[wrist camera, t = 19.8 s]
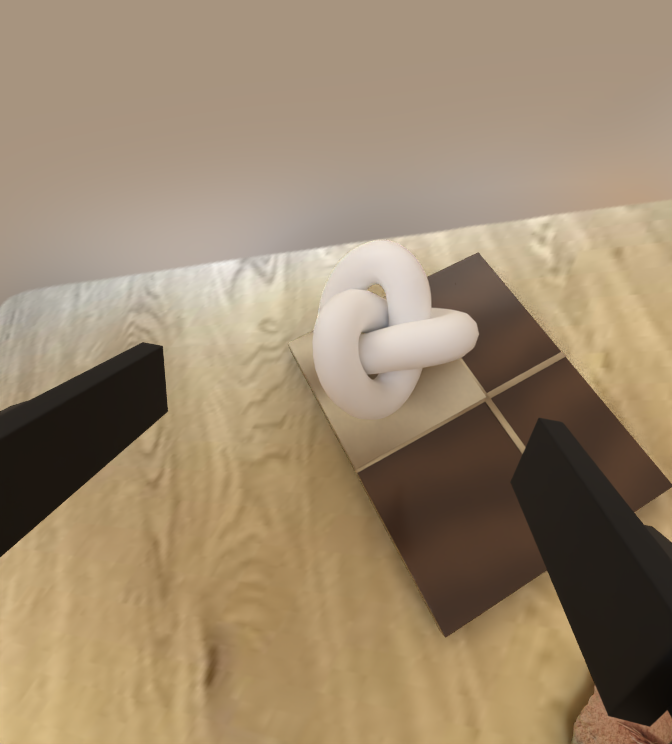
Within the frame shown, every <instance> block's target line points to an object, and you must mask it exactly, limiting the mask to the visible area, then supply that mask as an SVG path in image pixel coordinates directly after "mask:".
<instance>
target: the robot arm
mask: <svg viewBox="0 0 672 744" xmlns="http://www.w3.org/2000/svg"><path fill="white" fill-rule="evenodd" d="M167 412H168V407H167V394H166V381H165V368H164V356H163V346H160V345H154V344H149V343H144V342H142V343H141V344H139V345H137V346H135V347H133V348H131V349H129V350H127V351H125V352H123V353H121V354H119V355H117V356H115V357H113V358H111V359H109V360H107V361H105V362H103V363H102V364H100V365H98V366H96V367H94V368H92V369H90V370H88V371H86V372H84V373H82V374H80V375H78V376H76V377H74V378H72V379H70V380H68V381H66V382H64V383H62V384H61V385H59V386H57V387H55V388H53V389H51V390H49V391H47V392H45V393H43V394H41V395H39V396H37V397H35V398H33V399H31V400H29V401H26V402H22V403H19V404H16V405H13V406H10V407H8V408H6V409H4V410H2V411H0V557H1V556H2V555H3V554H5V553H6V552H7V551H8V550H9V549H10V548H11V547H13V546H14V545H15V544H16V543H17V542H18V541H19V540H21V539H22V538H23V537H24V536H25V535H26V534H28V533H29V532H30V531H31V530H32V529H33V528H34V527H36V526H37V525H38V524H39V523H40V522H41V521H42V520H44V519H45V518H46V517H47V516H48V515H49V514H51V513H52V512H53V511H54V510H55V509H56V508H57V507H59V506H60V505H61V504H62V503H63V502H64V501H65V500H67V499H68V498H69V497H70V496H71V495H72V494H74V493H75V492H76V491H77V490H78V489H79V488H80V487H82V486H83V485H84V484H85V483H86V482H87V481H88V480H90V479H91V478H92V477H93V476H94V475H95V474H97V473H98V472H99V471H100V470H101V469H102V468H103V467H105V466H106V465H107V464H108V463H109V462H110V461H111V460H113V459H114V458H115V457H116V456H117V455H118V454H120V453H121V452H122V451H123V450H124V449H125V448H126V447H128V446H129V445H130V444H131V443H132V442H133V441H134V440H136V439H137V438H138V437H139V436H140V435H141V434H143V433H144V432H145V431H146V430H147V429H148V428H149V427H151V426H152V425H153V424H154V423H155V422H156V421H157V420H159V419H160V418H161V417H162V416H163V415H164V414H166V413H167ZM510 483H511V485H512V487H513V490H514V492H515V494H516V497H517V499H518V502H519V504H520V506H521V509H522V511H523V514H524V516H525V518H526V521H527V523H528V526H529V528H530V530H531V533H532V535H533V537H534V540H535V542H536V545H537V547H538V549H539V552H540V554H541V557H542V559H543V561H544V564H545V566H546V569H547V571H548V573H549V576H550V578H551V581H552V583H553V585H554V588H555V590H556V592H557V595H558V597H559V600H560V602H561V604H562V607H563V609H564V612H565V614H566V616H567V619H568V621H569V624H570V626H571V628H572V631H573V633H574V635H575V638H576V640H577V643H578V645H579V647H580V650H581V652H582V655H583V657H584V659H585V662H586V664H587V667H588V669H589V671H590V674H591V676H592V678H593V681H594V683H595V686H596V688H597V690H598V693H599V695H600V698H601V700H602V702H603V705H604V707H605V710H606V712H607V714H608V716H610V717H614V718H618V719H622V720H626V721H629V722H633V723H637V724H641V725H645V726H649V727H650V726H651V725H652V724H654V723H655V722H656V721H657V720H658V719H659V718H660V717H661V716H662V715H663V714H664V713H665V712H666V711H667V710H668V712H669V714H670V716H671V718H672V542H670V541H669V540H668V539H667V538H666V537H664V536H663V535H662V534H661V533H660V532H658V531H657V530H656V529H655V528H654V527H652V526H647V525H644V524H643V523H642V522H641V521H640V519H639V518H638V517H637V515H636V514H635V513H634V512H633V510H632V509H631V508H630V507H629V505H628V504H627V503H626V502H625V500H624V499H623V498H622V496H621V495H620V494H619V493H618V491H617V490H616V489H615V488H614V486H613V485H612V484H611V482H610V481H609V480H608V479H607V477H606V476H605V475H604V474H603V472H602V471H601V470H600V469H599V467H598V466H597V465H596V463H595V462H594V461H593V460H592V458H591V457H590V456H589V455H588V453H587V452H586V451H585V450H584V448H583V447H582V446H581V444H580V443H579V442H578V441H577V439H576V438H575V437H574V436H573V434H572V433H571V432H570V430H569V429H568V428H567V427H566V425H565V424H564V423H563V422H560V421H555V420H549V419H544V418H538V420H537V423H536V425H535V427H534V429H533V432H532V434H531V436H530V438H529V441H528V443H527V445H526V447H525V450H524V452H523V454H522V457H521V459H520V461H519V463H518V466H517V468H516V470H515V472H514V475H513V477H512V479H511V482H510ZM668 744H672V741H671V742H669V743H668Z"/></svg>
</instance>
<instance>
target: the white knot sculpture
mask: <svg viewBox="0 0 672 744" xmlns="http://www.w3.org/2000/svg"><path fill="white" fill-rule="evenodd" d="M375 284H380V285H381V286H382V288H383V289H384V291H385V294H386V298H387V300H386V299H384V298H382V297H380V296H379V295H377V294H375V293H373V292H370V291H367V289H368V288H370V287H371V286H372V285H375ZM361 332H362V333H366V334H361ZM360 334H361V335H360ZM478 336H479V332H478V327H477V323H476V322H475V321H474V320H473V319H472V318H471V317H470V316H469V315H468V314H467V313H464V312H460V311H456V310H451V309H442V308H431V292H430V286H429V282H428V279H427V276H426V273H425V271H424V269H423V267H422V265H421V264H420V262H419V261H418V259H417V258H416V257H415V256H414V255H413V254H412V253H411V252H410V251H409V250H408V249H407V248H405V247H404V246H402V245H401V244H399V243H397V242H393V241H390V240H373V241H370V242H367V243H364V244H362V245H359V246H357V247H355V248H354V249H352V250H351V251H349V252H348V253H347V254H346V255H345V256H344V257H343V258H342V259H341V260H340V261H339V262H338V263H337V264H336V266H335V267H334V269H333V270H332V272H331V273H330V275H329V277H328V279H327V282H326V284H325V286H324V289H323V292H322V295H321V299H320V304H319V309H318V317H317V319H316V323H315V326H314V332H313V340H312V344H313V359H314V364H315V369H316V372H317V375H318V378H319V381H320V383H321V385H322V387H323V389H324V390H325V392H326V394H327V395H328V396H329V398H330V399H331V400H332V401H333V402H334V404H336V405H337V406H338V407H340V408H341V409H342V410H344V411H345V412H346V413H348V414H349V415H350V416H353V417H356V418H358V419H367V420H377V419H382V418H385V417H387V416H389V415H391V414H393V413H394V412H395V411H397V410H398V409H399V408H400V407H401V406H402V405H403V404H404V403H405V402H406V400H407V399H408V398H409V396H410V395H411V393H412V391H413V390H414V388H415V386H416V384H417V382H418V380H419V377H420V374H421V372H422V368H425V367H430V366H435V365H440V364H444V363H448V362H451V361H454V360H457V359H459V358H461V357H463V356H465V355H466V354H467V353H468V352H469V351H471V350H472V349H473V348H474V346H475V344H476V341H477V338H478ZM378 373H379V374H378ZM367 374H378V376H377V377H376V378H375V379H373V380H372V379H371V378H369V377H368V375H367Z"/></svg>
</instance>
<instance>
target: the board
mask: <svg viewBox="0 0 672 744" xmlns="http://www.w3.org/2000/svg"><path fill="white" fill-rule="evenodd" d="M427 279H428V282H429V286H430V292H431V308H442V309H451V310H456V311H460V312H464V313H467V314H468V315H469V316H470V317H471V318H472V319H473V320H474V321H475V322H476V323H477V327H478V332H479V336H478V338H477V341H476V344H475V346H474V348H473V349H472V350H471V351H469V352H468V353H467V354H466V355H465V356H463V357H461V358H459V359H457V360H454V361H451V362H448V363H444V364H440V365H435V366H430V367H425V368H422V372H421V374H420V377H419V380H418V382H417V384H416V386H415V388H414V390H413V391H412V393H411V395H410V396H409V398H408V399H407V400H406V402H405V403H404V404H403V405H402V406H401V407H400V408H399V409H398V410H397V411H395V412H394V413H393V414H391V415H389V416H387V417H385V418H382V419H377V420H367V419H358V418H356V417H353V416H350V415H349V414H348V413H346V412H345V411H344V410H342V409H341V408H340V407H338V406H337V405H336V404H334V402H333V401H332V400H331V399H330V398H329V396H328V395H327V394H326V392H325V390H324V389H323V387H322V385H321V383H320V381H319V378H318V375H317V372H316V369H315V364H314V359H313V344H312V340H313V332H314V330H313V331H311V332H309V333H307V334H305V335H303V336H301V337H299V338H297V339H295V340H293V341H290V342H288V345H289V348H290V351H291V353H292V355H293V356H294V358H295V360H296V362H297V364H298V366H299V368H300V370H301V371H302V373H303V375H304V377H305V379H306V381H307V383H308V384H309V386H310V388H311V390H312V392H313V394H314V396H315V398H316V399H317V401H318V403H319V405H320V407H321V409H322V411H323V413H324V414H325V416H326V418H327V420H328V422H329V424H330V426H331V428H332V429H333V431H334V433H335V435H336V437H337V439H338V441H339V443H340V444H341V446H342V448H343V450H344V452H345V454H346V456H347V458H348V459H349V461H350V463H351V465H352V467H353V469H354V471H355V473H356V474H357V476H358V478H359V480H360V482H361V484H362V486H363V488H364V489H365V491H366V493H367V495H368V497H369V499H370V501H371V503H372V504H373V506H374V508H375V510H376V512H377V514H378V516H379V518H380V519H381V521H382V523H383V525H384V527H385V529H386V531H387V532H388V534H389V536H390V538H391V540H392V542H393V544H394V546H395V547H396V549H397V551H398V553H399V555H400V557H401V559H402V561H403V562H404V564H405V566H406V568H407V570H408V572H409V574H410V576H411V577H412V579H413V581H414V583H415V585H416V587H417V589H418V591H419V592H420V594H421V596H422V598H423V600H424V602H425V604H426V606H427V607H428V609H429V611H430V613H431V615H432V617H433V619H434V621H435V622H436V624H437V626H438V628H439V630H440V631H441V633H442V634H443V635H444V636H445V637H447V636H449V635H450V634H452V633H453V632H455V631H456V630H458V629H459V628H461V627H462V626H464V625H465V624H467V623H468V622H470V621H471V620H473V619H474V618H476V617H477V616H479V615H480V614H482V613H483V612H485V611H486V610H488V609H489V608H491V607H492V606H494V605H495V604H497V603H498V602H500V601H501V600H503V599H504V598H506V597H507V596H509V595H510V594H512V593H513V592H515V591H516V590H518V589H519V588H521V587H522V586H524V585H525V584H527V583H528V582H530V581H531V580H533V579H534V578H536V577H537V576H539V575H540V574H542V573H543V572H545V571H547V569H546V566H545V564H544V561H543V559H542V557H541V554H540V552H539V549H538V547H537V545H536V542H535V540H534V537H533V535H532V533H531V530H530V528H529V526H528V523H527V521H526V518H525V516H524V514H523V511H522V509H521V506H520V504H519V502H518V499H517V497H516V494H515V492H514V490H513V487H512V485H511V483H510V482H511V479H512V477H513V475H514V472H515V470H516V468H517V466H518V463H519V461H520V459H521V457H522V454H523V452H524V450H525V447H526V445H527V443H528V441H529V438H530V436H531V434H532V432H533V429H534V427H535V425H536V423H537V420H538V418H544V419H549V420H555V421H560V422H563V423H564V424H565V425H566V427H567V428H568V429H569V430H570V432H571V433H572V434H573V436H574V437H575V438H576V439H577V441H578V442H579V443H580V444H581V446H582V447H583V448H584V450H585V451H586V452H587V453H588V455H589V456H590V457H591V458H592V460H593V461H594V462H595V463H596V465H597V466H598V467H599V469H600V470H601V471H602V472H603V474H604V475H605V476H606V477H607V479H608V480H609V481H610V482H611V484H612V485H613V486H614V488H615V489H616V490H617V491H618V493H619V494H620V495H621V496H622V498H623V499H624V500H625V502H626V503H627V504H628V505H629V507H630V508H631V509H632V510H633V512H635V511H637V510H638V509H640V508H641V507H643V506H644V505H646V504H647V503H649V502H650V501H652V500H653V499H655V498H656V497H658V496H659V495H661V494H662V493H664V492H665V491H667V490H668V489H670V488H671V487H672V484H671V483H670V481H669V480H668V479H667V478H666V477H665V475H664V474H663V473H662V472H661V471H660V469H659V468H658V467H657V466H656V465H655V463H654V462H653V461H652V460H651V459H650V457H649V456H648V455H647V454H646V453H645V452H644V450H643V449H642V448H641V447H640V446H639V444H638V443H637V442H636V441H635V440H634V438H633V437H632V436H631V435H630V434H629V432H628V431H627V430H626V429H625V428H624V426H623V425H622V424H621V423H620V422H619V420H618V419H617V418H616V417H615V416H614V414H613V413H612V412H611V411H610V410H609V408H608V407H607V406H606V405H605V404H604V402H603V401H602V400H601V399H600V398H599V396H598V395H597V394H596V393H595V392H594V390H593V389H592V388H591V387H590V386H589V384H588V383H587V382H586V381H585V380H584V378H583V377H582V376H581V375H580V374H579V372H578V371H577V370H576V369H575V368H574V366H573V365H572V364H571V363H570V362H569V360H568V359H567V358H566V355H565V354H564V353H563V351H562V352H561V351H560V350H559V348H558V347H557V346H556V345H555V344H554V342H553V341H552V340H551V339H550V338H549V336H548V335H547V334H546V333H545V332H544V330H543V329H542V328H541V327H540V326H539V325H538V323H537V322H536V321H535V320H534V319H533V317H532V316H531V315H530V314H529V313H528V311H527V310H526V309H525V308H524V307H523V305H522V304H521V303H520V302H519V301H518V299H517V298H516V297H515V296H514V295H513V293H512V292H511V291H510V290H509V289H508V287H507V286H506V285H505V284H504V283H503V281H502V280H501V279H500V278H499V277H498V275H497V274H496V273H495V272H494V271H493V269H492V268H491V267H490V266H489V265H488V263H487V262H486V261H485V260H484V259H483V257H482V256H481V255H480V254H479V253H476V254H474V255H472V256H470V257H468V258H466V259H464V260H462V261H459V262H457V263H455V264H453V265H451V266H449V267H447V268H445V269H443V270H441V271H439V272H437V273H435V274H432V275H430V276H428V277H427ZM382 298H384V299H386V300H387V298H386V296H384V297H382ZM361 334H366V333H362V332H361ZM361 334H360V335H361ZM378 374H379V373H378ZM378 374H367V375H368V377H369V378H371V379H372V380H373V379H375V378H376V377H377V376H378Z"/></svg>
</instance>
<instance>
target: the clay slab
mask: <svg viewBox="0 0 672 744" xmlns="http://www.w3.org/2000/svg"><path fill="white" fill-rule="evenodd" d="M671 741H672V718H671V716H670V714H669V712H668V710H667V711H666V712H665V713H664V714H663V715H662V716H661V717H660V718H659V719H658V720H657V721H656V722H655V723H654V724H652V725H651V726H650V727H649V726H645V725H641V724H637V723H633V722H629V721H626V720H622V719H618V718H614V717H610V716H608V714H607V712H606V710H605V707H604V705H603V702H602V700H601V698H600V695H599V693H598V690H597V688H596V686H595V685H594V694H593V695H592V696H591V697H590V698H589V702H588V705H586V706H585V707H584V708H583V709H582V711H581V715H578V717H577V719H576V722H575V723H574V729H573V738H572V740H571V744H668V743H669V742H671Z"/></svg>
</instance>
